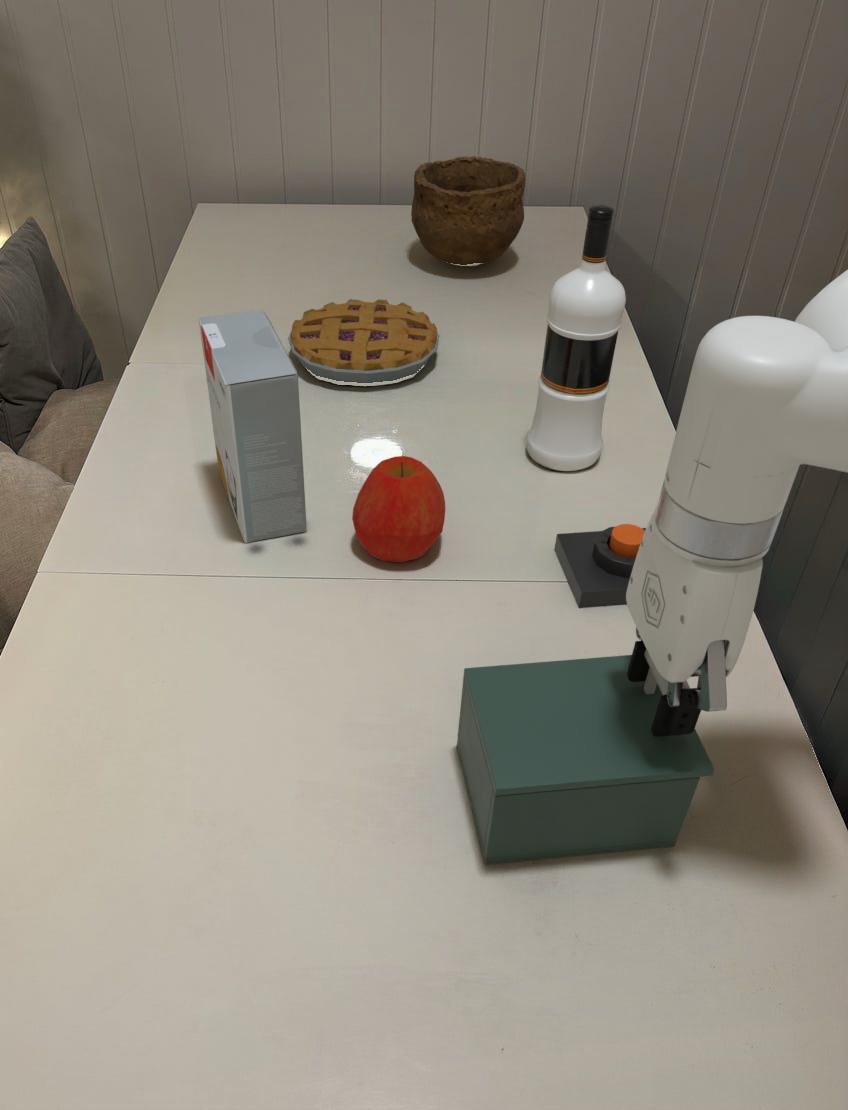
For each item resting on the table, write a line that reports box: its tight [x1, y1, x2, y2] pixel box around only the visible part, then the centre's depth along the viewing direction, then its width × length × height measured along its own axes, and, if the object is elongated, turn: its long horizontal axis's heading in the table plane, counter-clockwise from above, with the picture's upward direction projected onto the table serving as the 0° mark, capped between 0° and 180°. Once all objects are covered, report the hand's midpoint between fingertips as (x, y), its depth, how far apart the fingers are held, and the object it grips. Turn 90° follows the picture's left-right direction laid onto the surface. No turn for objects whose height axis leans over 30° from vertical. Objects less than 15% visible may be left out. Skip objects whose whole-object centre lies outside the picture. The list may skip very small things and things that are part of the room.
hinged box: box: [456, 675, 701, 865], centre depth 78 cm, size 16×13×9 cm
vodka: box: [525, 203, 627, 472], centre depth 109 cm, size 9×9×30 cm
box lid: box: [463, 649, 716, 796], centre depth 73 cm, size 16×13×6 cm
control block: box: [553, 526, 647, 609], centre depth 101 cm, size 12×10×4 cm
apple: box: [351, 455, 447, 563], centre depth 102 cm, size 10×10×10 cm
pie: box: [287, 298, 440, 383], centre depth 137 cm, size 22×22×5 cm
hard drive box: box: [197, 309, 307, 543], centre depth 105 cm, size 16×8×20 cm, turn 17°
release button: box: [609, 523, 645, 557], centre depth 99 cm, size 4×4×2 cm
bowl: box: [410, 155, 526, 265], centre depth 159 cm, size 19×19×15 cm
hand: (659, 702), depth 74 cm, fingers closed on box lid, 5 cm apart
